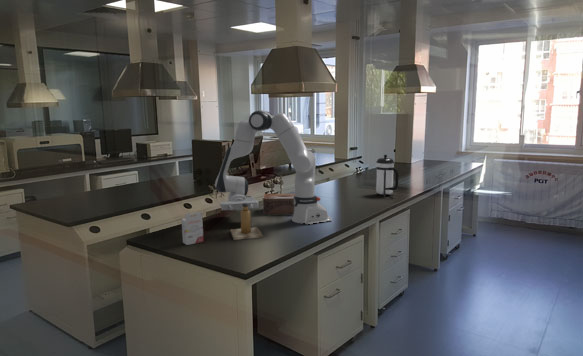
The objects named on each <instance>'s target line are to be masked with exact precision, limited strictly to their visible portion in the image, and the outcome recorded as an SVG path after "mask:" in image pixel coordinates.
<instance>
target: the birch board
mask: <svg viewBox="0 0 583 356" xmlns="http://www.w3.org/2000/svg"><path fill="white" fill-rule="evenodd" d="M230 234H231V237H232V238H233V241H237V240H246V239H258V238H263V234H262V232H261V230H260V229H259V228H258V227H257V226H256V227H251V233H247V234H244V233H241V228H234V229H233V228H232V229H230Z"/></svg>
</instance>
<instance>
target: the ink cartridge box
mask: <svg viewBox="0 0 583 356" xmlns="http://www.w3.org/2000/svg"><path fill="white" fill-rule="evenodd" d="M203 227H204V225H203V215H202V211H195V212H191V213H184V217H183V218H181V233H182V244H185V246H189V245H194V244H198V243H203V242H204V228H203Z"/></svg>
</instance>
